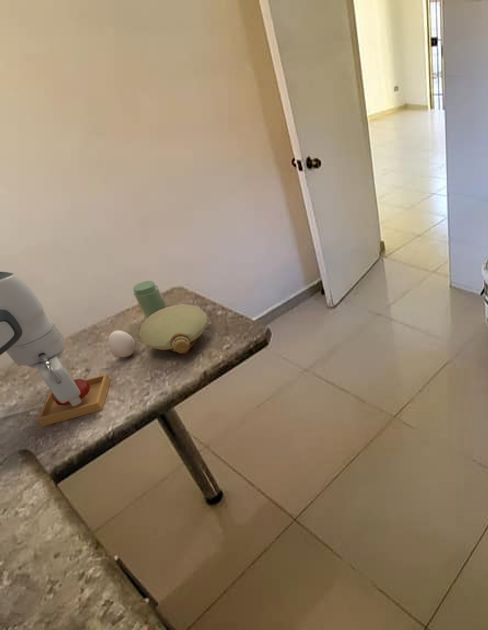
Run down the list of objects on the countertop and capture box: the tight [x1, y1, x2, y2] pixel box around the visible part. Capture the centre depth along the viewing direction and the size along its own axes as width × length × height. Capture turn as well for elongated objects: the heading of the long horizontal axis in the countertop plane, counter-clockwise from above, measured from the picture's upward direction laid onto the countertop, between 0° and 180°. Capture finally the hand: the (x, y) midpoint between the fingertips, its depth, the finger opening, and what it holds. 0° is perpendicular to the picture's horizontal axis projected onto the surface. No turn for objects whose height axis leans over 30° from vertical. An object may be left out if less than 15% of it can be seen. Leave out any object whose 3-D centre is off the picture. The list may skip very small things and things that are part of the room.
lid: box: [51, 378, 90, 406], centre depth 94 cm, size 6×6×2 cm
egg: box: [107, 330, 136, 358], centre depth 107 cm, size 5×5×7 cm
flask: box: [139, 303, 208, 355], centre depth 109 cm, size 9×16×18 cm
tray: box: [36, 373, 112, 428], centre depth 96 cm, size 11×10×2 cm
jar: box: [132, 280, 168, 320], centre depth 120 cm, size 6×6×10 cm
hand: (72, 394), depth 94 cm, fingers closed on lid, 6 cm apart
